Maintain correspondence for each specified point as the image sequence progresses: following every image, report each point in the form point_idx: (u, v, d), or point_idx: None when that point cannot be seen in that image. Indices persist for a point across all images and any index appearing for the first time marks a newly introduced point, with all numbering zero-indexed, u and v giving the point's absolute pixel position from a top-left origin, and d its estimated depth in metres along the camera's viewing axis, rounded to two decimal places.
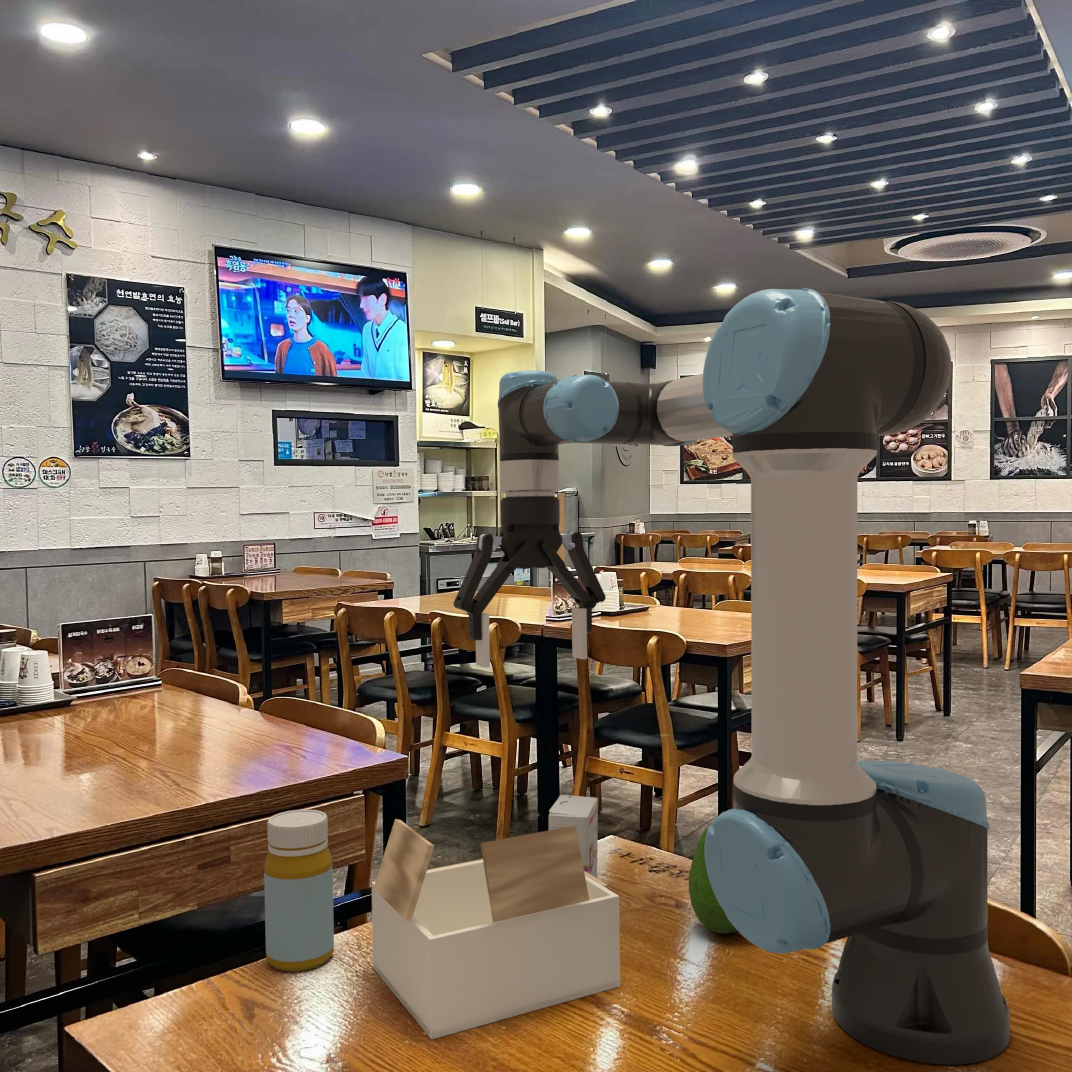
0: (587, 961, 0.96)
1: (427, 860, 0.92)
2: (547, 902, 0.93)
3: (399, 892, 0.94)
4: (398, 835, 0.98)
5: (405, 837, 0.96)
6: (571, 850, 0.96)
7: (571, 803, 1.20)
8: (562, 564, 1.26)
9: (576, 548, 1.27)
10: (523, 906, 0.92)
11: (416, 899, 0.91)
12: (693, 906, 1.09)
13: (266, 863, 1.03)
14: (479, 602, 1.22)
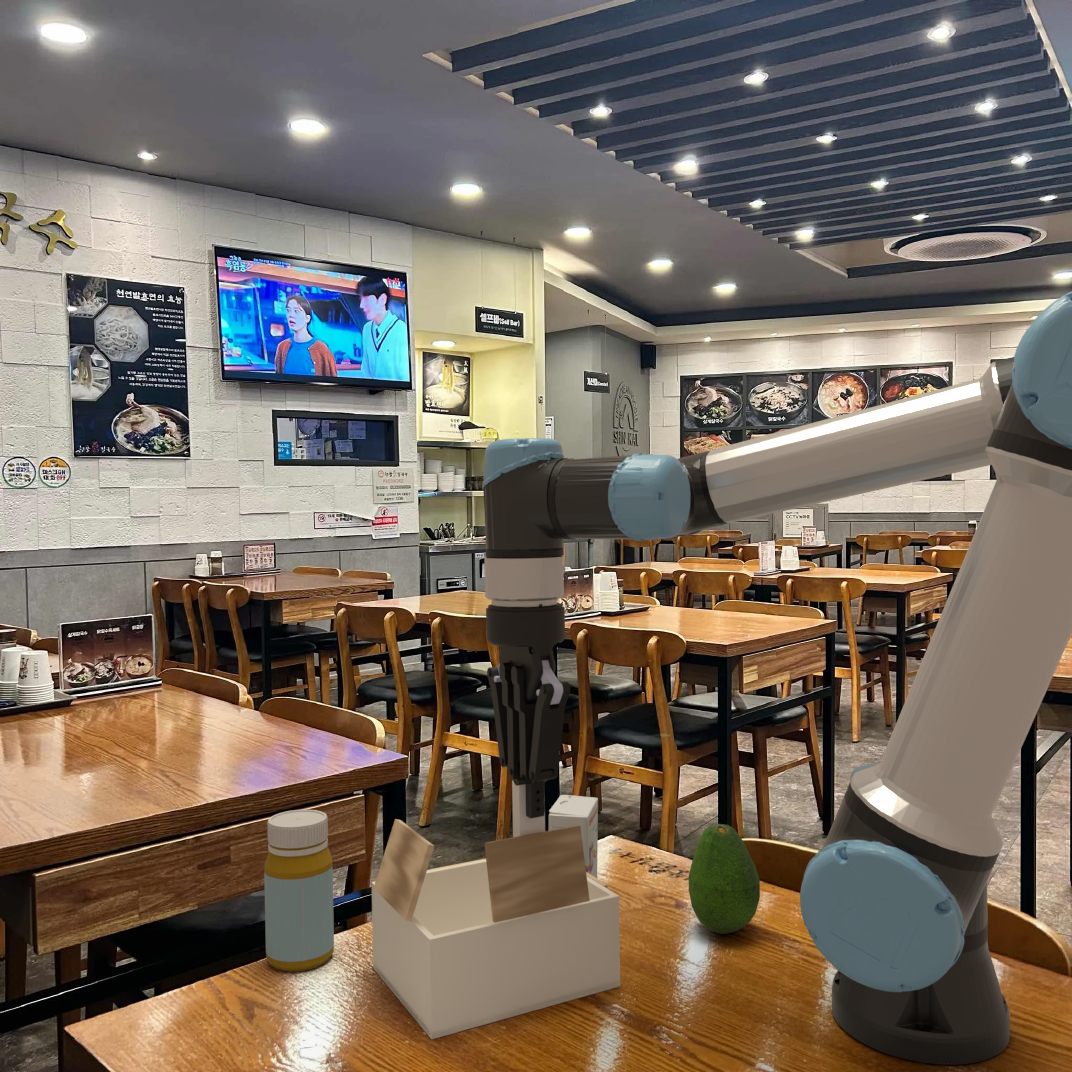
0: (587, 961, 0.96)
1: (427, 860, 0.92)
2: (548, 902, 0.93)
3: (399, 892, 0.94)
4: (398, 835, 0.98)
5: (405, 837, 0.96)
6: (574, 851, 0.95)
7: (571, 803, 1.20)
8: (518, 709, 0.92)
9: (537, 700, 0.90)
10: (524, 907, 0.92)
11: (416, 899, 0.91)
12: (693, 906, 1.09)
13: (266, 863, 1.03)
14: (508, 763, 0.96)
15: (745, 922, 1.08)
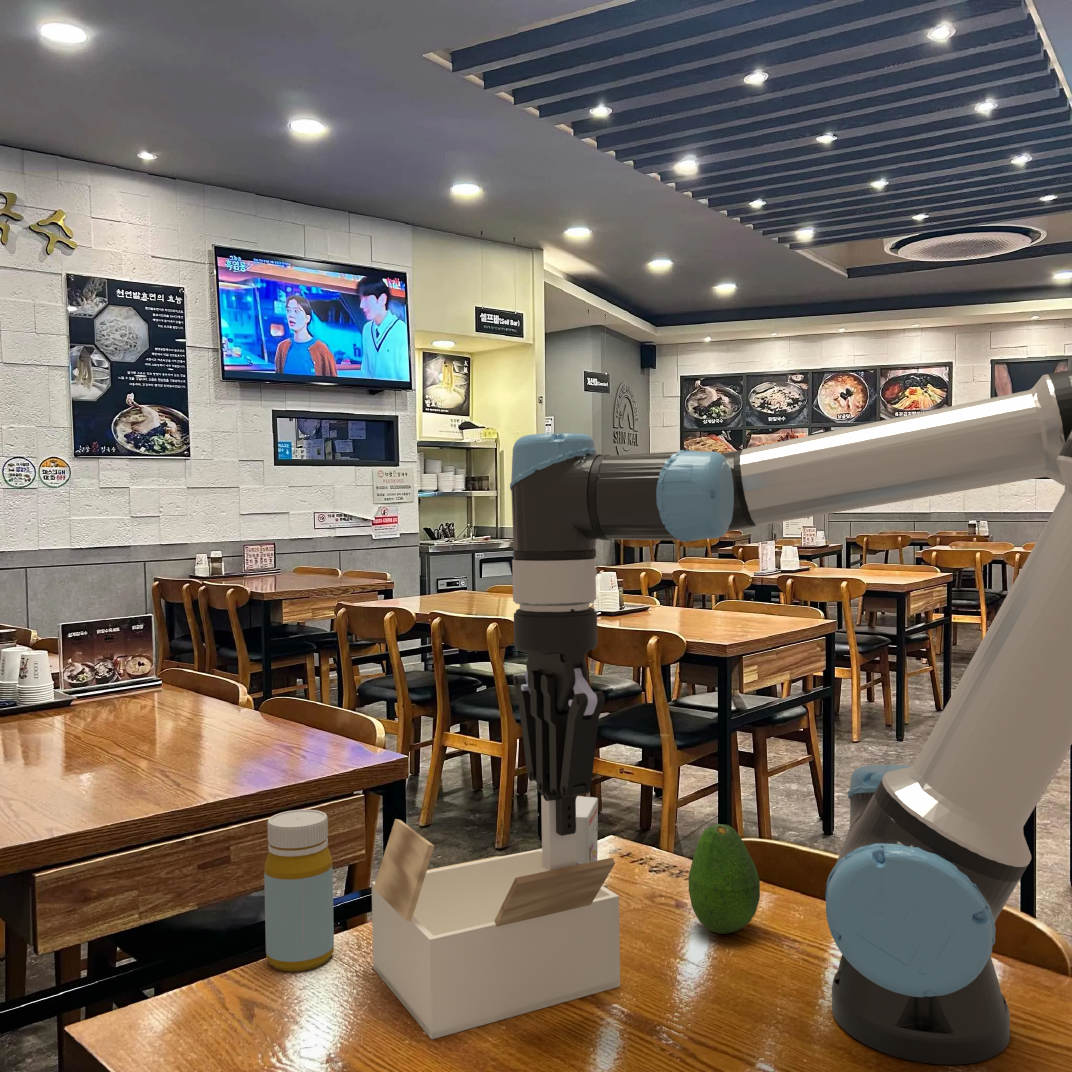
0: (587, 961, 0.96)
1: (427, 860, 0.92)
2: (552, 910, 0.92)
3: (399, 892, 0.94)
4: (398, 835, 0.98)
5: (405, 837, 0.96)
6: (598, 878, 0.91)
7: None
8: (548, 720, 0.87)
9: (570, 711, 0.85)
10: (528, 915, 0.91)
11: (416, 899, 0.91)
12: (693, 906, 1.09)
13: (266, 863, 1.03)
14: (537, 776, 0.90)
15: (745, 922, 1.08)
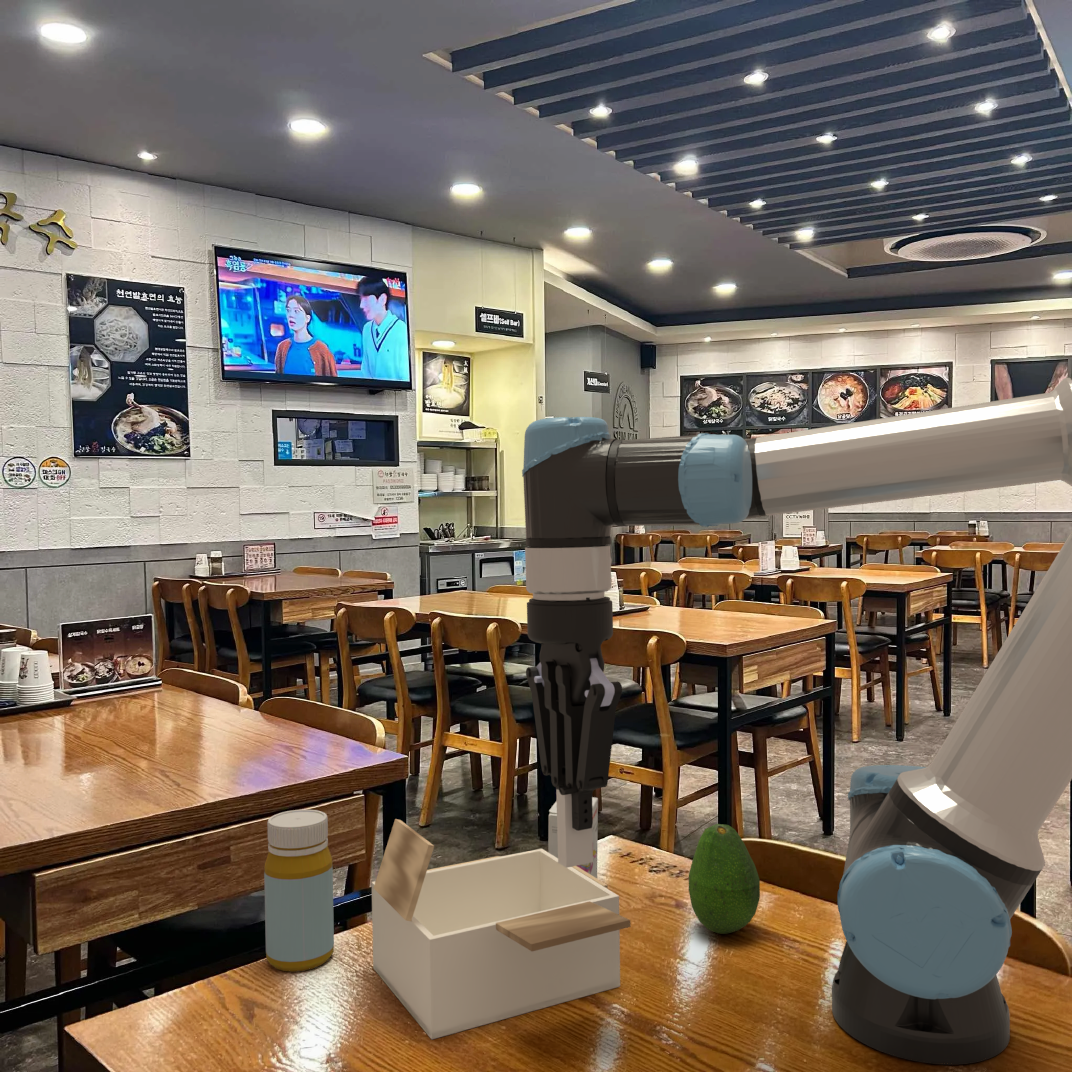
0: (587, 961, 0.96)
1: (427, 860, 0.92)
2: None
3: (399, 892, 0.94)
4: (398, 835, 0.98)
5: (405, 837, 0.96)
6: None
7: None
8: (563, 711, 0.85)
9: (586, 702, 0.82)
10: None
11: (416, 899, 0.91)
12: (693, 906, 1.09)
13: (266, 863, 1.03)
14: (552, 770, 0.88)
15: (745, 922, 1.08)
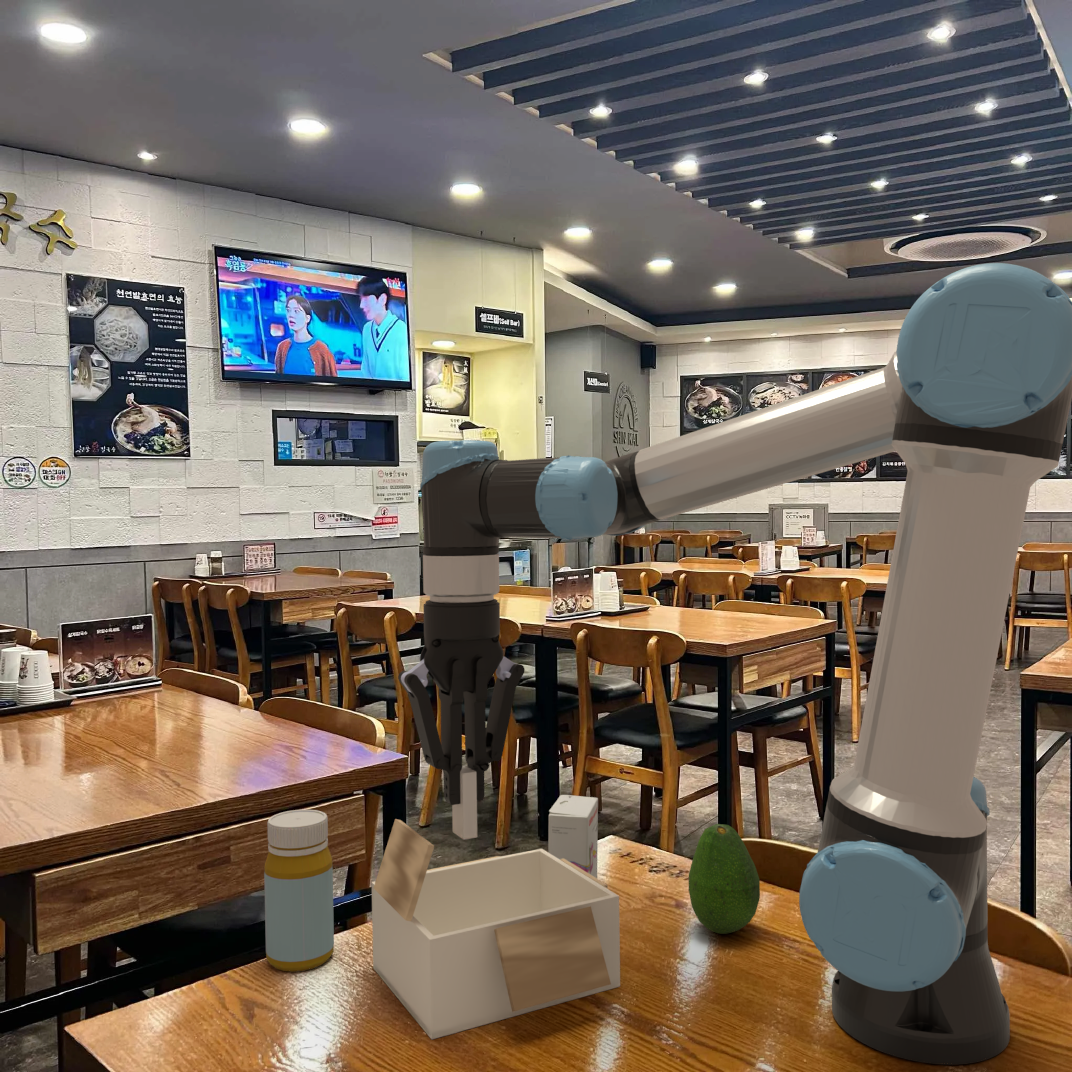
0: None
1: (427, 860, 0.92)
2: None
3: (399, 892, 0.94)
4: (398, 835, 0.98)
5: (405, 837, 0.96)
6: None
7: (571, 803, 1.20)
8: (483, 698, 0.97)
9: (509, 681, 0.99)
10: None
11: (416, 899, 0.91)
12: (693, 906, 1.09)
13: (266, 863, 1.03)
14: (452, 760, 0.96)
15: (745, 922, 1.08)
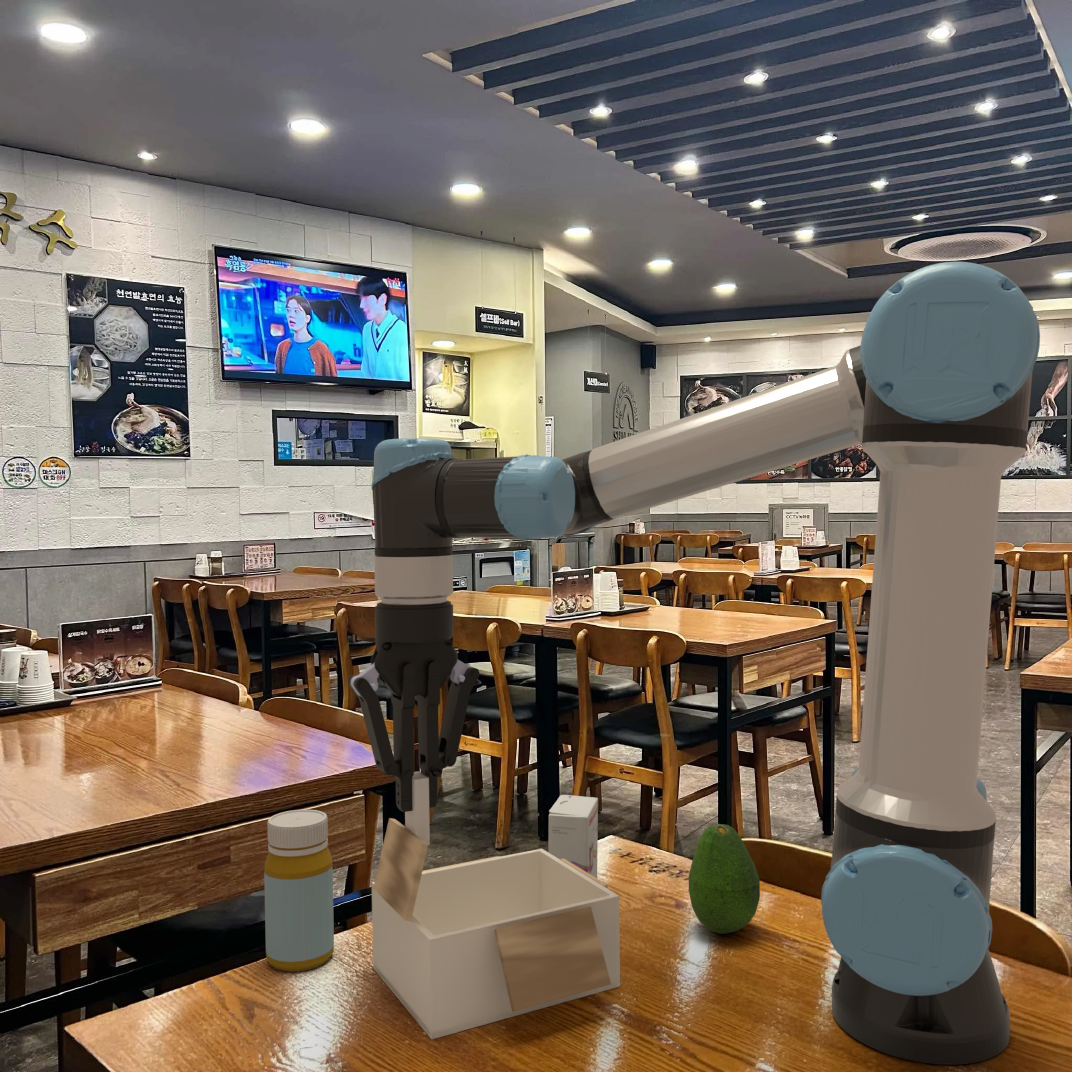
0: None
1: (422, 859, 0.91)
2: None
3: (397, 893, 0.93)
4: (393, 834, 0.98)
5: (400, 836, 0.96)
6: None
7: (571, 803, 1.20)
8: (436, 702, 0.95)
9: (463, 685, 0.97)
10: None
11: (414, 899, 0.91)
12: (693, 906, 1.09)
13: (266, 863, 1.03)
14: (403, 765, 0.94)
15: (745, 922, 1.08)
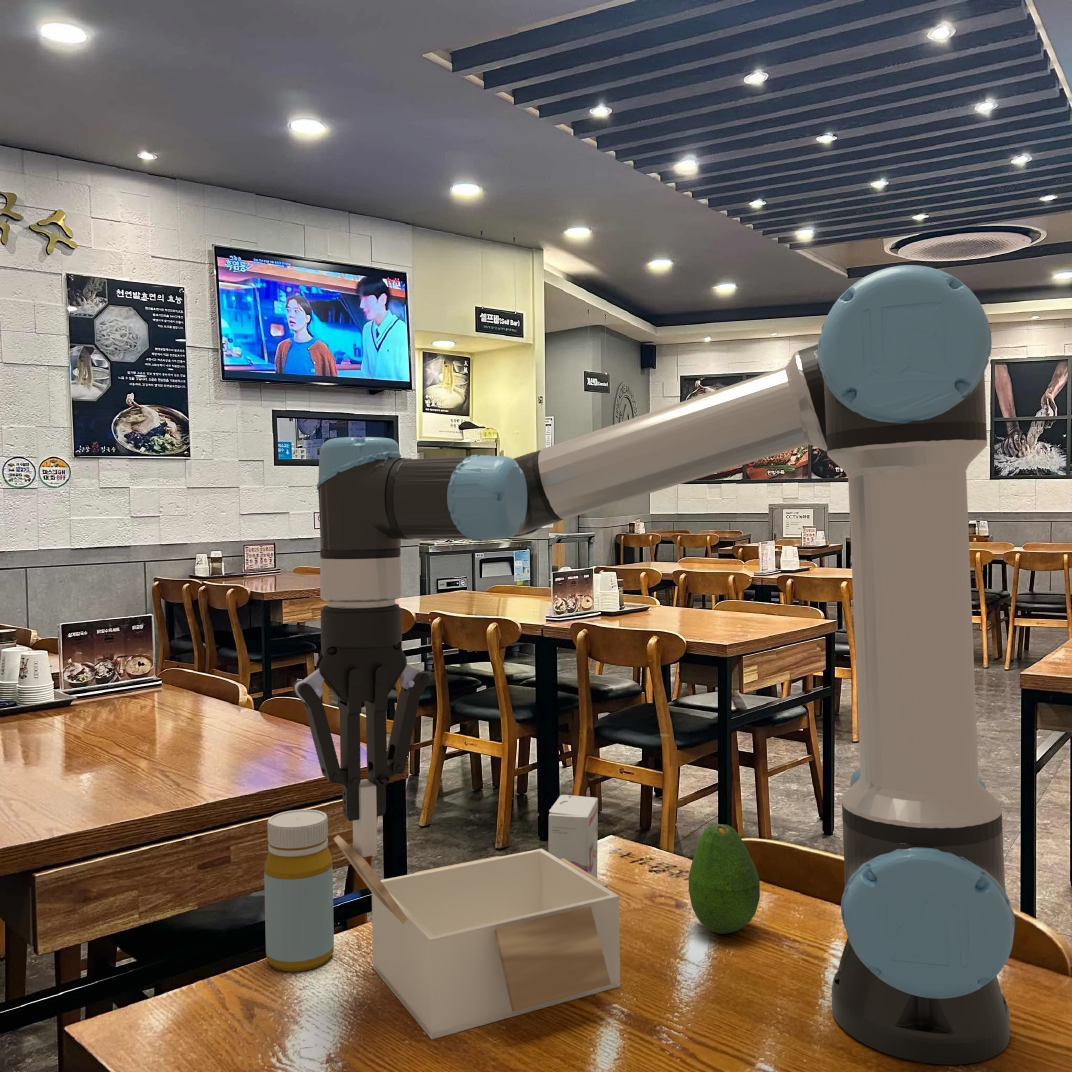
0: None
1: (373, 876, 0.89)
2: None
3: (383, 900, 0.93)
4: (345, 853, 0.95)
5: (349, 856, 0.94)
6: None
7: (571, 803, 1.20)
8: (383, 708, 0.93)
9: (412, 691, 0.94)
10: None
11: (395, 904, 0.90)
12: (693, 906, 1.09)
13: (266, 863, 1.03)
14: (349, 773, 0.92)
15: (745, 922, 1.08)
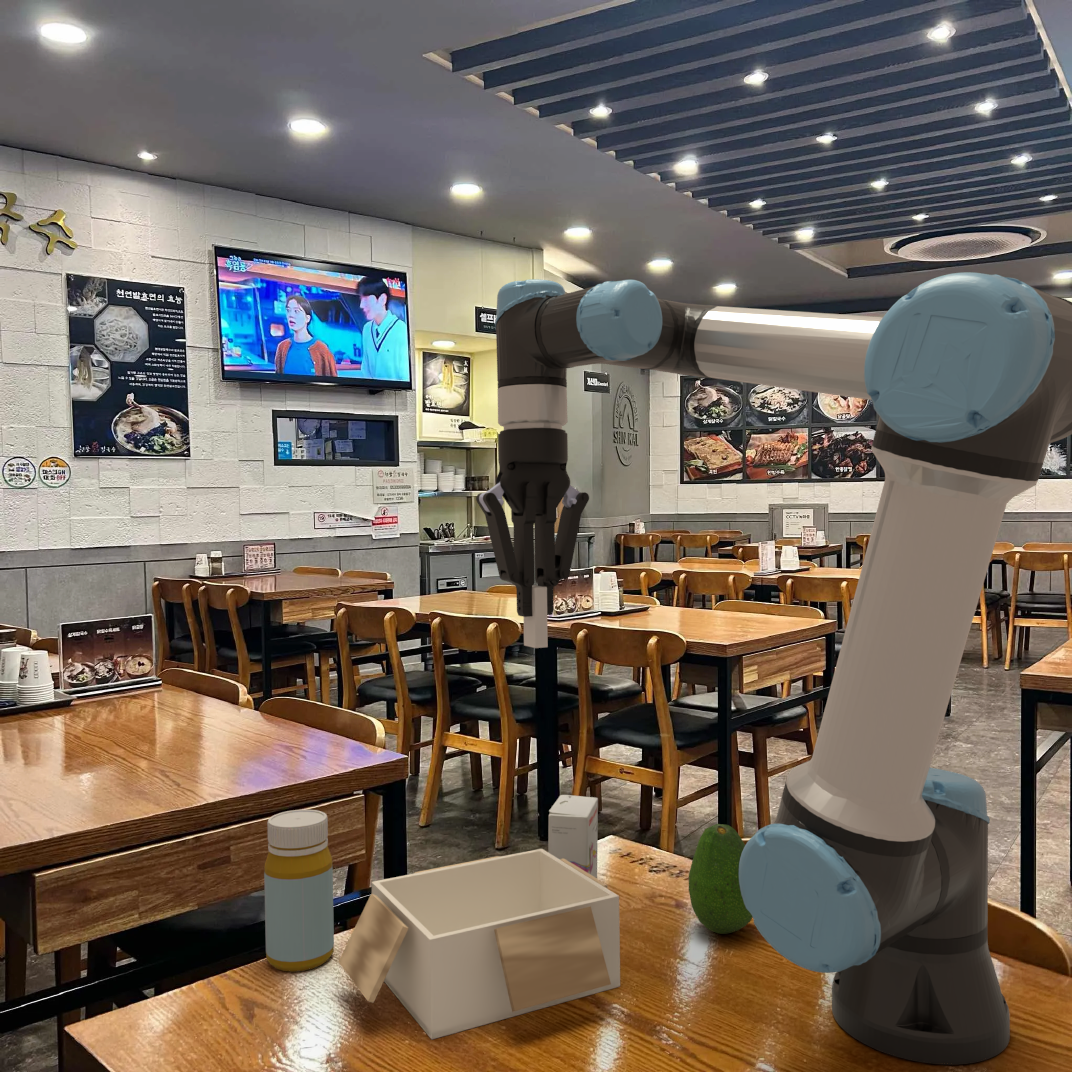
0: None
1: (377, 986, 0.90)
2: None
3: None
4: None
5: None
6: None
7: (571, 803, 1.20)
8: (553, 519, 1.06)
9: (575, 507, 1.08)
10: None
11: (394, 947, 0.90)
12: (693, 906, 1.09)
13: (266, 863, 1.03)
14: (525, 574, 1.05)
15: (745, 922, 1.08)
